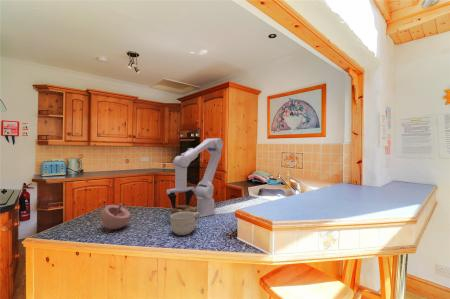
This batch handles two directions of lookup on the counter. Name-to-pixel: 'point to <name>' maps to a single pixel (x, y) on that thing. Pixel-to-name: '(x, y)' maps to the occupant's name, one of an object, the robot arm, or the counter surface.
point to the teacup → (184, 222)
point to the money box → (183, 209)
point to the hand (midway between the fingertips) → (180, 206)
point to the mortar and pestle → (115, 216)
